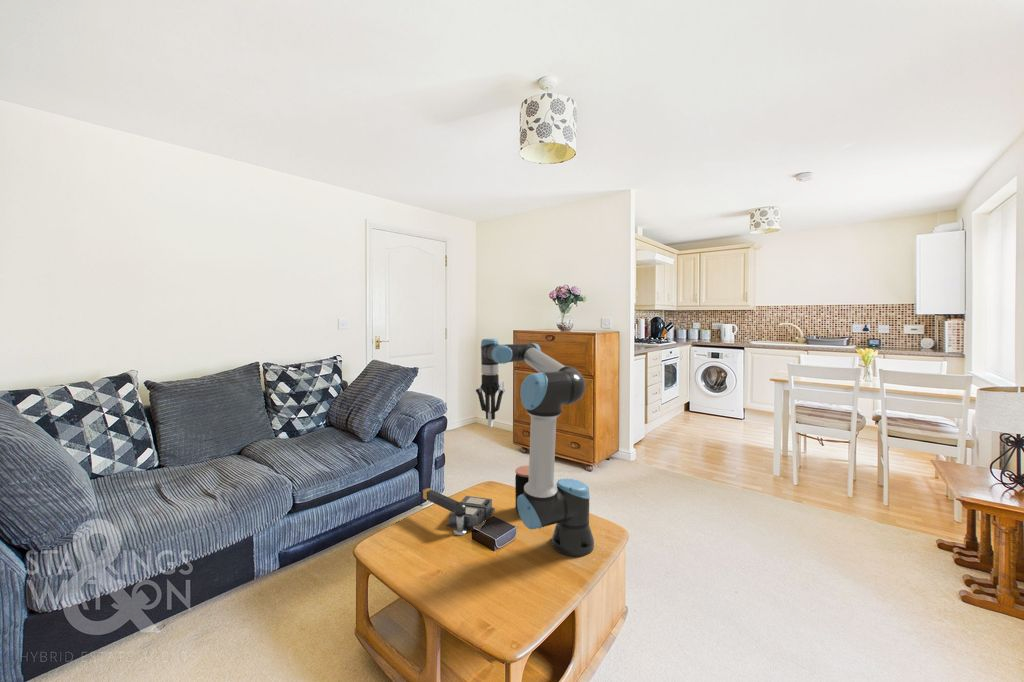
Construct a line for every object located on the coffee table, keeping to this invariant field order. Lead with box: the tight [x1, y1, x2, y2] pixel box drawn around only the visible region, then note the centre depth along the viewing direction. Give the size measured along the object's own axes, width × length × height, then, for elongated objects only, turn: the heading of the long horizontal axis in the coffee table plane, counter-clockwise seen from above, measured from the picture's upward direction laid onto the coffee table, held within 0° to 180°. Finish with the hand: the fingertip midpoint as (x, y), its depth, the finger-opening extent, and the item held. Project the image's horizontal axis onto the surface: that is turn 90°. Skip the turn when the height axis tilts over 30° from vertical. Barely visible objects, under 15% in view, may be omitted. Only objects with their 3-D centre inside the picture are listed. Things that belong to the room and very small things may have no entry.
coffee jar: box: [514, 465, 529, 515], centre depth 174 cm, size 11×11×18 cm
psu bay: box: [446, 495, 496, 531], centre depth 169 cm, size 14×18×6 cm
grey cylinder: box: [453, 515, 468, 537], centre depth 158 cm, size 5×5×7 cm
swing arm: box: [422, 487, 466, 516], centre depth 164 cm, size 24×4×4 cm, turn 49°
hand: (490, 426), depth 181 cm, fingers closed
